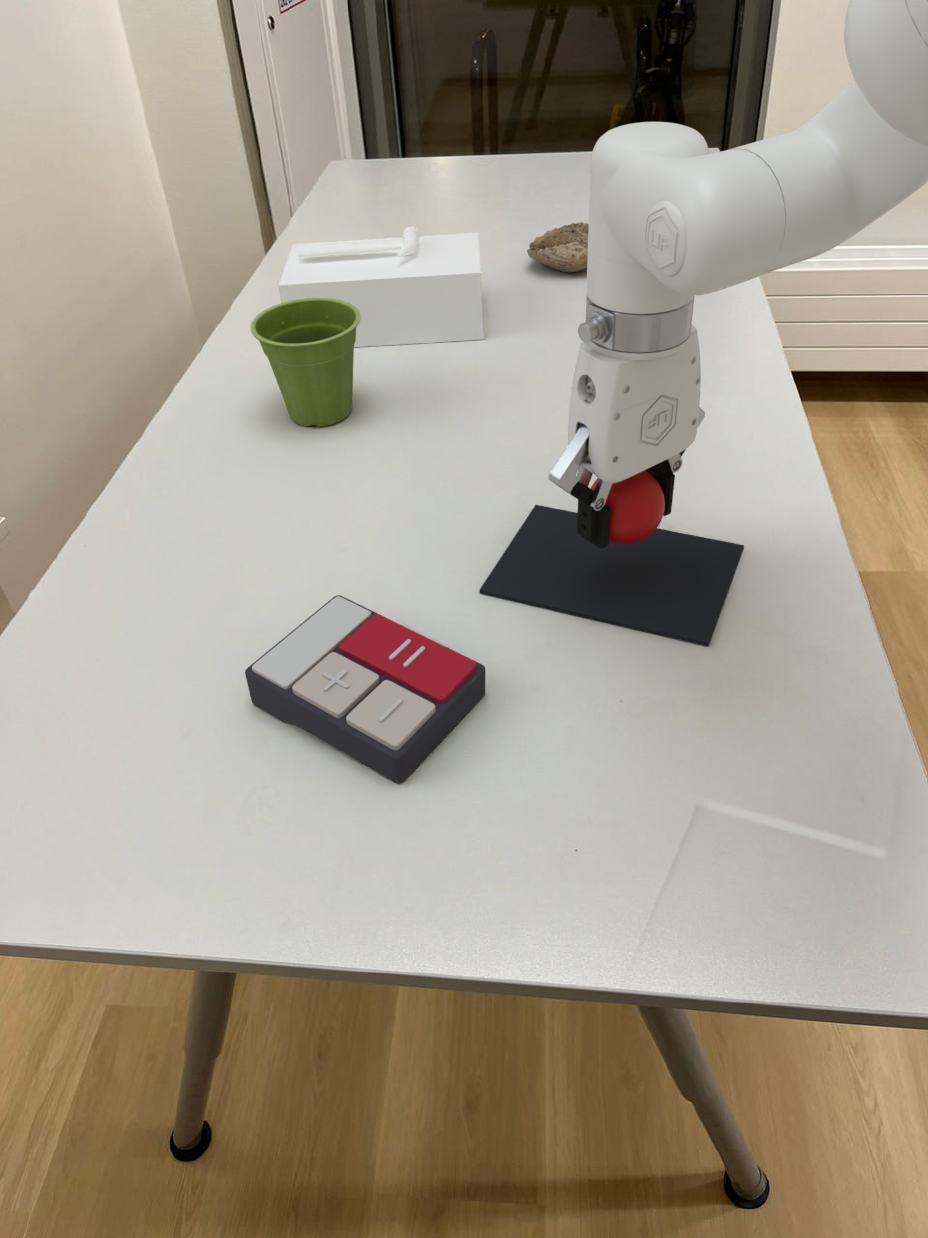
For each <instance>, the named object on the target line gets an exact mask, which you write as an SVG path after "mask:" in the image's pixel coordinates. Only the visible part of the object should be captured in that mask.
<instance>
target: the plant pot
mask: <svg viewBox="0 0 928 1238" xmlns="http://www.w3.org/2000/svg"><path fill="white" fill-rule="evenodd" d="M360 319H361V315H360V312H359V310H358V309H357V308H356V307H355V306H353V305H352V304H350V303H348V302H345V301H342V300H337V299H330V298H306V299H298V300H292V301H288V302H284V303H278V304H276V305H272V306H270V307H268V308H266V309H265V310H263V311H261V312H260V313H258V314H256V316H255V317H253V319H252V321H251V323H250V332H251V334H252V336H253V337H254V338H255V339H256V340H258V341H259V344H260V346H261V349H262V352H263V353H264V355H265V356H266V357H267V360H268V362H269V364H270V368H271V370H272V372H273V375H274V379H275V380H276V383H277V385H278V388H279V391H280V394H281V397H282V399H283V402H284V403H285V407H286V409H287V412H288V414H289V417H290V419H291V420H292V421H293V422H294V423H296V424H298V425H300V426H304V427H310V426H318V427H328V426H332V425H334V424H337V423H339V422H342V421H343V420H345V419H346V418H348V416H349V415H350V413H351V411H352V409H353V394H354V393H353V391H354V390H353V389H354V355H355V347H354V344H355V341H356V327H357V325H358V324H359V322H360Z"/></svg>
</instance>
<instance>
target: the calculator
mask: <svg viewBox="0 0 928 1238" xmlns="http://www.w3.org/2000/svg"><path fill="white" fill-rule="evenodd" d="M244 674H245V680H246V684H247V688H248V691H249V695H250V700H251V703H252V704H253V705H254V706H256V707H257V708H259V709H260V710H262V711H264V712H266V713H267V714H269V715H271V716H272V717H274V718H276V719H278V720H279V721H281V722H283V723H285V724H287V723H289V724H291V723H292V724H294V725H296V726H297V727H299V728H301V729H303V730H305V731H306V732H308V733H309V734H312V735H313V736H315V737H316V738H318V739H319V740H322V742H325V743H327V744H329V745H330V746H332V747H334V748H335V749H337V750H339V751H341V752H342V753H344V754H345V755H347V756H349V757H350V758H353V760H356V761H358V762H360V763H361V764H362V765H365V766H367V767H368V768H370V769H372V771H375V772H377V773H378V774H380V775H382V776H383V777H385V778H387V779H389V780H390V781H392V782H393V783H396V784H402V783H404V782H405V781H407V779H408V778H409V777H410V776H411V775H412V774H413V773H414V772H415V770H416V769H417V768H418V767H419V766H420V765H421V764H422V763H423V762H424V761H425V759H426V758H427V757H428V756H429V755H430V754H431V753H432V752H433V751H434V750H436V748H437V747H438V746H439V745H440V744H441V742H443V741H444V739H445V738H446V737H447V736H449V734H450V733H451V732H452V731H453V730H454V729H455V727H456V726H457V725H459V723H460V722H461V721H462V720H463V719H464V718H465V717H466V716H467V715H468V714H469V713H470V712H471V710H473V708H475V706H476V705H477V704H478V703H479V702H480V701H481V700H482V699H483V698H484V697H485V695H486V666H485V665H484V664H482V663H480V662H478V661H476V660H474V659H472V658H470V657H468V656H466V655H464V654H462V653H460V652H457V651H456V650H453V649H452V648H450V647H447V646H445V645H444V644H441V643H439V642H437V641H435V640H433V639H431V638H429V637H427V636H425V635H423V634H421V633H419V632H417V631H415V630H413V629H411V628H408V627H406V626H404V625H402V624H400V623H398V622H396V621H394V620H392V619H390V618H387V617H386V616H384V615H381V614H380V613H378V612H376V611H373V610H372V609H370V608H367V607H365V606H364V605H362V604H359V603H357V602H355V601H353V600H351V599H349V598H347V597H345V596H343V595H340V594H339V595H335V596H333V597H332V598H331V599H329V600H328V601H327V602H326V603H325V604H323V605H322V606H321V607H319V608H318V609H317V610H316V611H315V612H314V613H313V614H311V615H310V616H308V617H307V618H306V619H305V620H304V621H303V622H301V623H300V624H299V625H297V627H295V628H294V629H293V630H292V631H290V632H289V633H288V634H286V635H285V636H284V637H283V638H281V639H280V641H278V642H277V643H276V644H275V645H273V646H272V647H271V648H270V649H268V651H266V652H265V653H264V654H263V655H261V656H260V657H259V658H257V659H256V660H255V661H254V662H253V663H251V664H250V665H249V666H247V668H246V669H245V670H244Z"/></svg>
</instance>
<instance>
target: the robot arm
mask: <svg viewBox="0 0 928 1238" xmlns="http://www.w3.org/2000/svg"><path fill="white" fill-rule="evenodd" d="M844 19H845V20H844V32H843V37H844V38H843V39H844V40H843V43H844V49H845V55H846V58H847V62H848V66H849V69H850V71H851V74H852V76H853V79H854V80H853V81H852V82H851V83H849V84H848V85H847V87H846V88H845V89H843V90H842V91H841V92H840V93H838V95H837V96H835V98H833V99H832V100H831V101H830V102H829V103H828V104H827V105H825V106H824V107H823V108H822V109H821V110H820V111H819V112H817V113H816V115H814V116H813V117H811V119H809V120H808V121H806V122H805V123H804V124H802V125H801V126H800V127H798V128H797V129H795V130H793V131H791V132H787V133H783V134H779V135H774V136H771V137H767V138H764V139H760V140H757V141H754V142H750V143H746V144H743V145H740V146H737V147H736V146H735V147H733V148H729V149H725V150H722V151H716V152H711V153H710V151H709V146H708V143H707V141H706V139H705V137H704V136H703V135H702V134H701V133H700V132H699V131H698V130H696V129H694V128H693V127H690V126H687V125H684V124H680V123H675V122H667V121H642V122H632V123H627V124H622V125H619V126H617V127H614V128H612V129H609V130H607V131H606V132H605V133H603V134H602V135H601V136H600V137H599V138H598V139H597V141H596V142H595V145H594V147H593V149H592V152H591V156H590V166H589V167H590V169H589V197H588V224H589V227H588V259H587V267H586V298H585V299H586V302H585V322H582V323H580V324H579V325H578V328H577V333H578V337H579V339H580V341H582V342H581V343H580V345H579V349H578V353H577V357H576V362H575V367H574V373H573V380H572V384H571V385H572V386H571V393H570V399H569V401H570V402H569V411H568V412H569V413H568V427H567V446H566V448H565V449H564V450H563V452H562V454H561V455H560V456H559V458H558V459H557V461H556V462H555V464H554V466H553V467H552V468H551V470H550V472H549V473H548V480H549V481H550V482H551V483H553V484H554V485H556V486H557V487H559V488H560V489H562V490H563V491H564V492H566V493H567V494H569V495H570V496H572V497H573V498H575V499H576V500H577V513H578V517H577V531H578V534H579V535H580V536H582V537H583V538H585V539H586V540H588V541H589V542H591V543H592V544H594V545H595V546H597V547H598V548H600V549H603V548H605V547H607V546H608V544H609V531H610V514H611V509H610V507H609V506H608V505H607V504H605V502H606V500H607V497H608V494H609V492H610V489H611V486H612V484H613V483H617V482H620V481H623V480H625V479H627V478H629V477H631V476H634V475H636V474H638V473H640V472H642V471H644V470H645V471H646V472H648V473H649V474H651V475H652V476H653V477H654V478H655V479H656V480H657V482H658V483H659V485H660V486H661V488H662V491H663V494H664V499H665V510H664V515H663V517H667V516H668V515H670V514H672V509H673V499H674V490H675V479H676V474H675V473H677V472H679V470H681V468H682V465H683V459H682V456H683V455H684V453H685V452H686V450H687V449H688V448H690V447H691V445H692V444H693V443H694V442H695V440H696V436H697V434H698V433H697V432H698V428H699V427H700V426H701V423H702V422H703V420H704V419H705V416H706V412H705V411H704V409H702V408H701V406H700V402H701V381H702V380H701V375H702V374H701V370H702V369H701V368H702V367H701V350H700V341H699V335H698V330H697V327H696V326H695V325H694V324H692V323H693V314H694V304H695V296H704V295H709V294H713V293H716V292H719V291H722V290H723V291H724V290H725V289H728V288H731V287H733V286H736V285H739V284H742V283H745V282H748V281H751V280H753V279H755V278H759V277H760V276H764V275H766V274H769V273H772V272H775V271H777V270H780V269H783V268H786V267H789V266H791V265H794V264H798V263H801V262H804V261H808V260H809V259H810V260H811V259H812V258H815V257H818V256H820V255H823V254H824V253H827V252H828V251H830V250H832V249H835V248H836V247H838V246H840V245H841V244H842V243H844V242H846V241H847V240H849V239H850V238H852V237H854V236H855V235H857V234H858V233H860V232H861V231H863V230H864V229H865V228H867V227H868V226H870V225H871V224H872V223H874V222H875V221H877V220H878V219H879V218H881V217H883V216H884V215H885V214H886V213H888V212H889V211H891V210H892V209H894V208H895V207H897V206H898V205H900V204H901V203H902V202H904V201H905V200H906V199H908V198H910V197H911V196H912V195H914V193H916V192H917V191H918V190H920V189H921V188H922V187H923V186H925V185H926V184H927V183H928V0H850V1H849V3H848V5H847V9H846V13H845V18H844ZM593 475H595V477H596V478H599V479H598V482H597V484H596V487H595V490H594V491H593V490H592V489H590V488H591V487H589V485H590V482H591V480H592V477H593Z"/></svg>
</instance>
